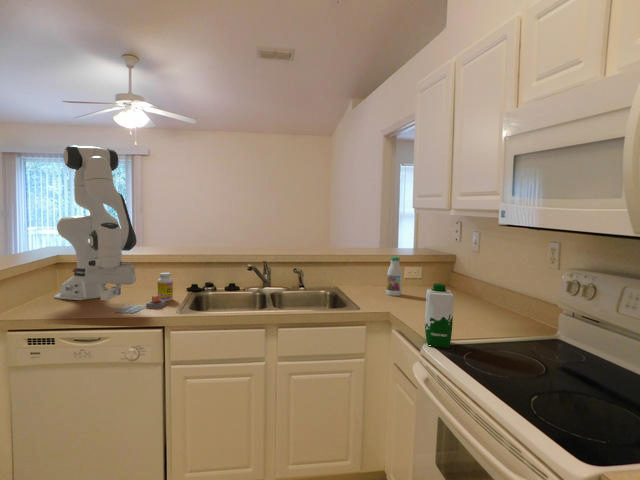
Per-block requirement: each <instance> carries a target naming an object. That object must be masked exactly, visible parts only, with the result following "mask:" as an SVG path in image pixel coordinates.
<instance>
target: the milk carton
mask: <svg viewBox="0 0 640 480" xmlns="http://www.w3.org/2000/svg"><path fill="white" fill-rule="evenodd" d="M424 315H425V317H424V331H425V332H424V333H425V340H426V344H427V346H428V345H431V346H430V347H432V346H434V347H433V348H445V349H446V348H447V349H448V348H451V342H452V335H453V334H452V333H453V320H454V319H453V318H454V293H453V292H452V291H451V290H450V289H446V284H445V283H433V284H432V288H427V289H426V298H425V314H424Z"/></svg>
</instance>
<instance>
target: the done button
mask: <svg viewBox="0 0 640 480" xmlns="http://www.w3.org/2000/svg"><path fill="white" fill-rule="evenodd" d="M151 301H152V303H160V295H158V294H154V295H151Z"/></svg>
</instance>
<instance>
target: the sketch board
mask: <svg viewBox="0 0 640 480" xmlns="http://www.w3.org/2000/svg"><path fill="white" fill-rule="evenodd" d="M145 308H146V305H127V306H126V307H123V308H122V309H119V310H117V311H115V313H116V314H136V313H137V312H139V311H141V310H143V309H145Z"/></svg>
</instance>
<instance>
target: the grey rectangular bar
mask: <svg viewBox="0 0 640 480" xmlns="http://www.w3.org/2000/svg"><path fill="white" fill-rule="evenodd" d="M116 287H117V286H111V287H110V288H107V289H108V290H106V291H103V292H101V297H100V301H109V300H112V299H115V298H116V297H119V296H120V295H121V292H122V291H121V290H122V289H121V287H120V288H119V293H118V294H113V290H115V289H116Z"/></svg>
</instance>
